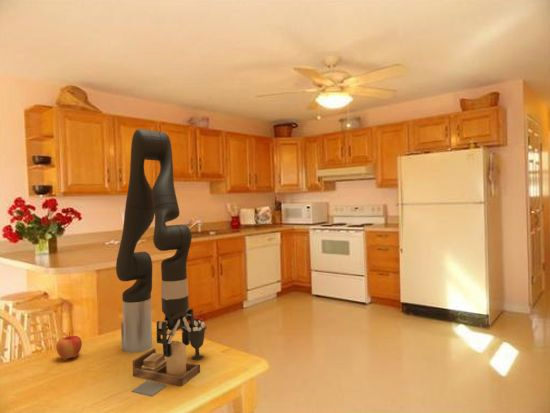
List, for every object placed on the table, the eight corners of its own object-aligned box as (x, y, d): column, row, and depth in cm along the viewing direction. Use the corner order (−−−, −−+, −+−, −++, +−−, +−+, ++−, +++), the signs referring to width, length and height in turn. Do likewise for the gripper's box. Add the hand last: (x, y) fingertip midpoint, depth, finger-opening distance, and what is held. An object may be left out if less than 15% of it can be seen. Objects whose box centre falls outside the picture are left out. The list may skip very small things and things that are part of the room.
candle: (190, 372, 112) (189, 339, 111) (179, 381, 107) (178, 346, 106) (173, 370, 114) (173, 337, 113) (162, 379, 108) (161, 344, 108)
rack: (133, 377, 111) (132, 360, 110) (154, 364, 119) (153, 348, 119) (181, 387, 104) (180, 369, 104) (200, 373, 112) (199, 356, 112)
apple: (55, 364, 120) (54, 339, 120) (58, 355, 127) (57, 332, 126) (81, 360, 123) (80, 335, 123) (82, 351, 130) (81, 328, 129)
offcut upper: (143, 366, 111) (143, 360, 111) (153, 358, 116) (153, 353, 116) (155, 367, 110) (155, 361, 110) (164, 360, 115) (164, 354, 115)
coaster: (131, 393, 102) (131, 390, 102) (147, 382, 107) (147, 380, 107) (152, 397, 99) (152, 395, 99) (167, 387, 105) (167, 384, 105)
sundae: (210, 354, 125) (209, 309, 125) (204, 363, 119) (203, 316, 118) (190, 354, 126) (189, 309, 125) (184, 363, 119) (182, 315, 119)
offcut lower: (141, 374, 111) (141, 366, 111) (155, 365, 117) (155, 358, 117) (153, 377, 110) (153, 369, 110) (167, 368, 115) (166, 360, 115)
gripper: (179, 288, 117) (181, 340, 118) (147, 300, 104) (149, 358, 105) (199, 289, 115) (202, 342, 115) (169, 302, 101) (172, 362, 102)
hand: (177, 350), depth 110 cm, fingers open, 8 cm apart
